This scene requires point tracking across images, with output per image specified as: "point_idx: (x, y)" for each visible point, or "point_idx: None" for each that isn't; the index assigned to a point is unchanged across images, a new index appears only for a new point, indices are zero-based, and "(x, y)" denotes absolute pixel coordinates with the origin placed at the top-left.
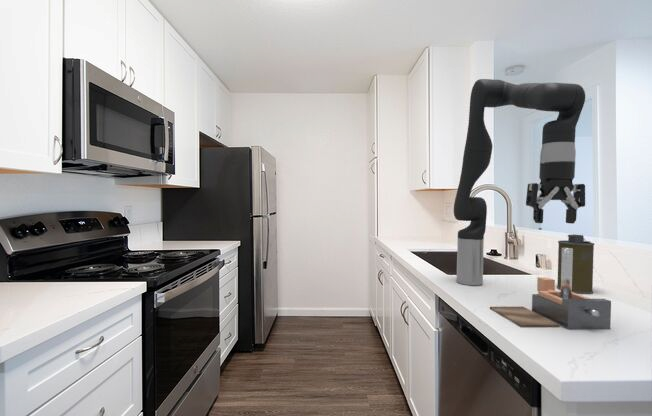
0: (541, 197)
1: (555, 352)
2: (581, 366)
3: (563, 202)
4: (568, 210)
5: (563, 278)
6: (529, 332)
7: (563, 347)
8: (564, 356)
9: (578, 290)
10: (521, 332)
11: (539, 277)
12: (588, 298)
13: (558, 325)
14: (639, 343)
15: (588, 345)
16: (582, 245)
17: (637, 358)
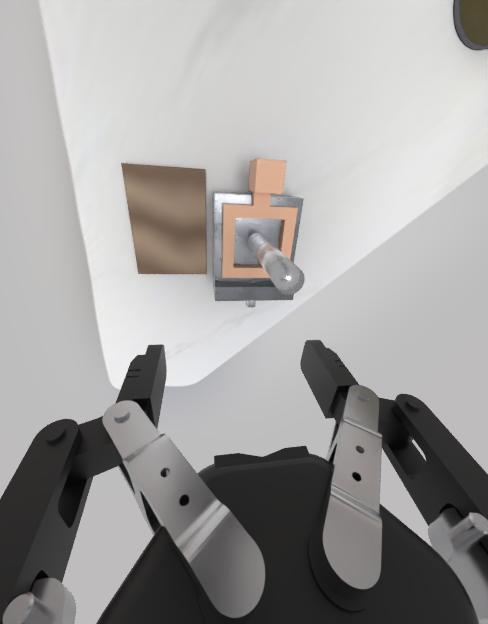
0: (142, 501)
1: (141, 345)
2: None
3: (341, 421)
4: (330, 392)
5: (256, 257)
6: (142, 291)
7: (161, 334)
8: (145, 353)
9: (470, 33)
10: (129, 291)
11: (262, 160)
12: None
13: (205, 273)
14: (268, 323)
15: (198, 328)
16: None
17: (225, 354)
